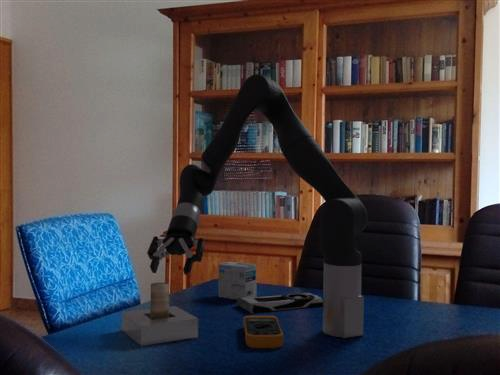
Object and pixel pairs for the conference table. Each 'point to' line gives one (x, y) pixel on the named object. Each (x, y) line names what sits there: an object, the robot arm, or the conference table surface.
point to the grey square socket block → (159, 326)
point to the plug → (159, 301)
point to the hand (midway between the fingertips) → (169, 272)
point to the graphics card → (279, 302)
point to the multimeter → (262, 332)
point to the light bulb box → (237, 280)
